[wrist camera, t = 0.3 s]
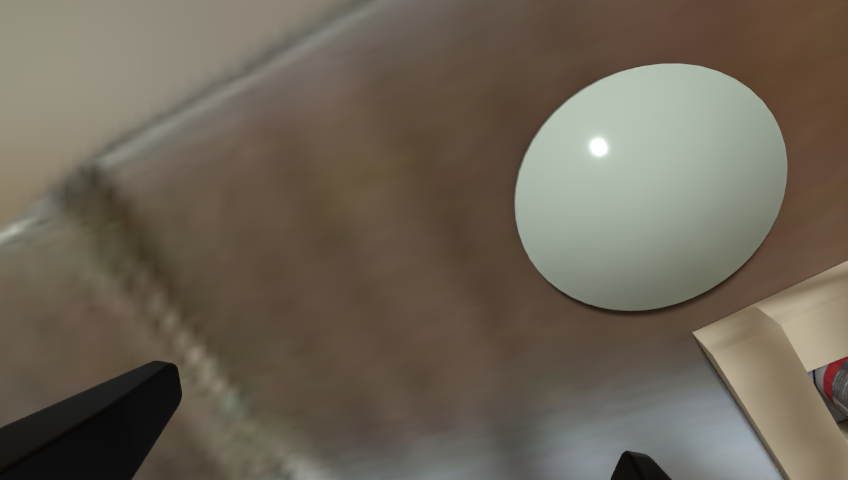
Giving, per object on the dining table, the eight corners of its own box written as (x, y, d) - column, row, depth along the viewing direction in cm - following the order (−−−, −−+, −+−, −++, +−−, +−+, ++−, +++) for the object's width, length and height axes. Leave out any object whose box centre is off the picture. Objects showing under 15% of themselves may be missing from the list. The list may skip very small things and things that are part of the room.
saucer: (722, 313, 21) (734, 323, 20) (499, 288, 22) (500, 296, 21) (814, 74, 17) (834, 72, 16) (534, 57, 18) (537, 55, 17)
